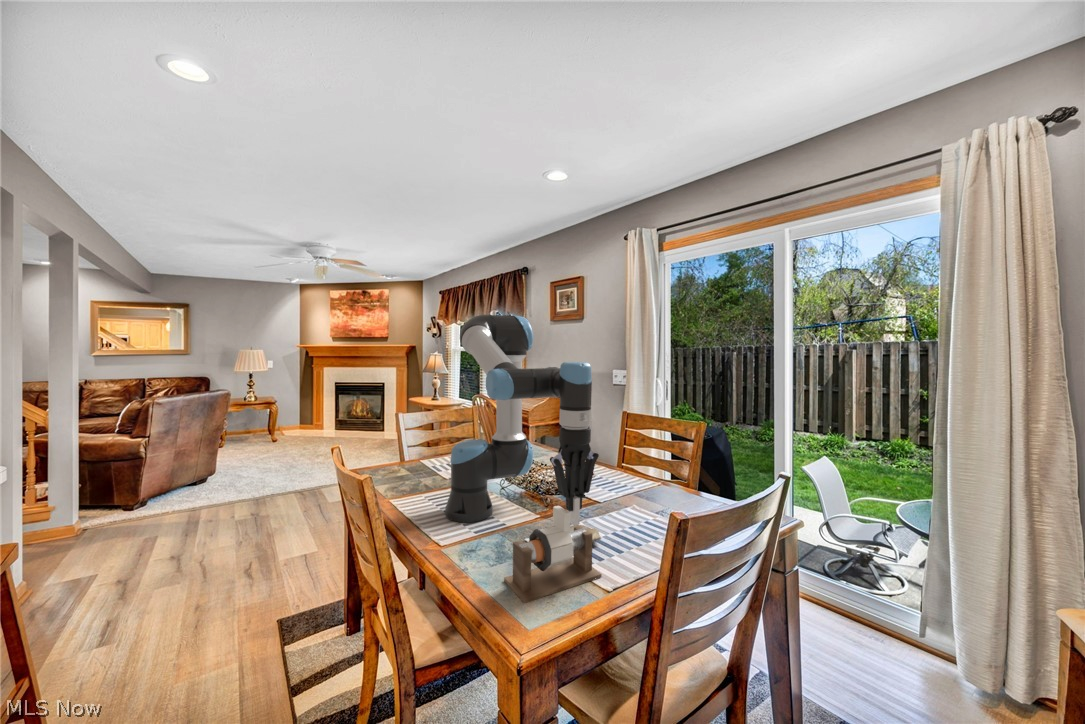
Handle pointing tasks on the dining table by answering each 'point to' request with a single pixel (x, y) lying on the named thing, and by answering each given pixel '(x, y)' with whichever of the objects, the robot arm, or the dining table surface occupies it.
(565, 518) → the sleeve
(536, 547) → the band
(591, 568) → the stand
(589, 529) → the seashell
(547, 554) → the ring
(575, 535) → the pipe
